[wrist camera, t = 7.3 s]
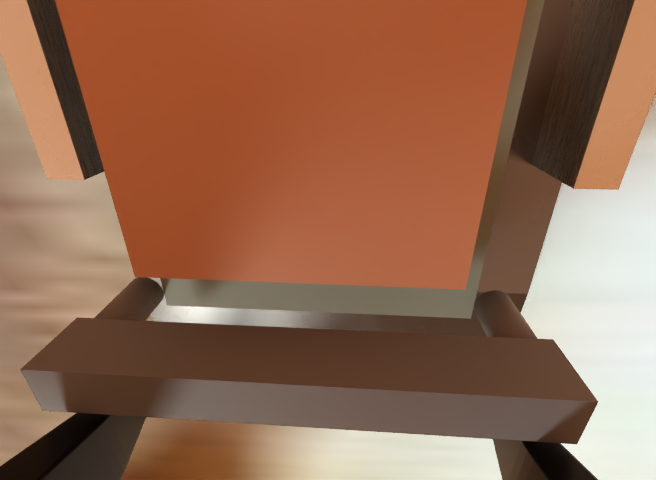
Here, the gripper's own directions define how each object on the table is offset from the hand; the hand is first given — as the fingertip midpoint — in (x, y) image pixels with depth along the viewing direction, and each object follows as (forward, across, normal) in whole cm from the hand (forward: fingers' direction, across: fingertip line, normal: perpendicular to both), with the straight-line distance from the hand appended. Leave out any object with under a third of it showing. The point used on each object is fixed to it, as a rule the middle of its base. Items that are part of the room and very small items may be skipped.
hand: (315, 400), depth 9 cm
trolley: (+4, 0, -6) cm, 8 cm away
